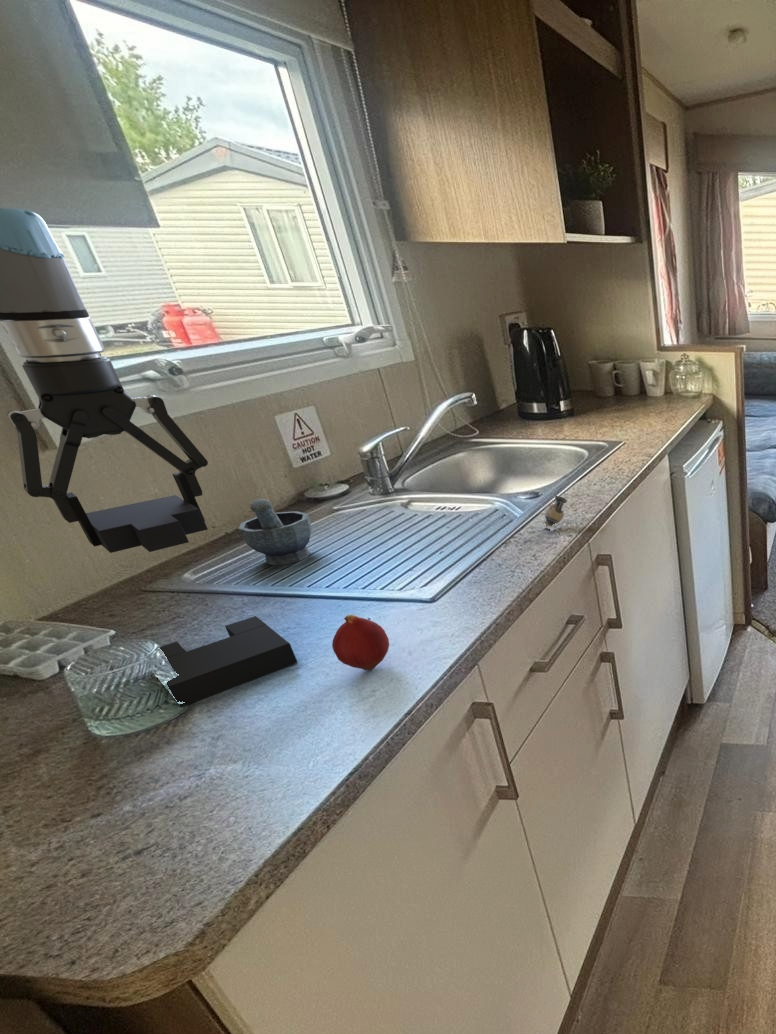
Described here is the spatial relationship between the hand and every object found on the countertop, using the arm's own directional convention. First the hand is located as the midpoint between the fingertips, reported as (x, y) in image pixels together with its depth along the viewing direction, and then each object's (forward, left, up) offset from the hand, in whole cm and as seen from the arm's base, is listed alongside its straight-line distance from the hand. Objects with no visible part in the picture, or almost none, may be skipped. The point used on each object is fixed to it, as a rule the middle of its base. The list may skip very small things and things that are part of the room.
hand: (149, 531), depth 89 cm
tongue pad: (+2, 0, 0) cm, 2 cm away
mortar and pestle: (-14, +17, -14) cm, 26 cm away
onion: (+34, +10, -14) cm, 38 cm away
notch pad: (+19, -1, -14) cm, 24 cm away
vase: (+10, +54, -14) cm, 57 cm away
